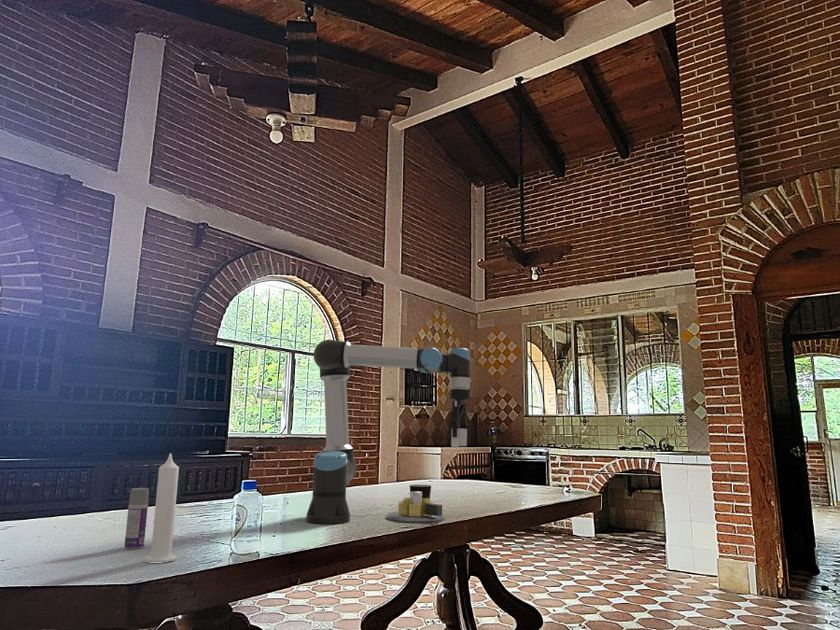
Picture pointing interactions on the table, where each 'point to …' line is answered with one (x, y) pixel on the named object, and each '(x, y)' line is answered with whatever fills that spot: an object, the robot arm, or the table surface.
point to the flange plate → (414, 499)
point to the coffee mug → (422, 490)
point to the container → (136, 518)
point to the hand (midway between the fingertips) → (459, 446)
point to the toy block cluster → (419, 508)
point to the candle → (164, 513)
